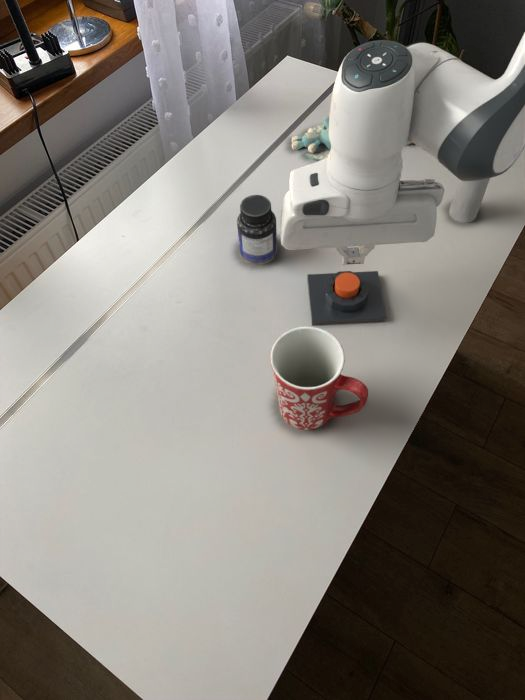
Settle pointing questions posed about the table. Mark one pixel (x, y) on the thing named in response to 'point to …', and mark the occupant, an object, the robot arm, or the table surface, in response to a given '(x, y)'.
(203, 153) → the table surface
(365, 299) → the button box
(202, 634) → the table surface
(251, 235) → the pill bottle
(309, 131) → the stuffed animal
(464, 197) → the white cylindrical tube
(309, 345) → the mug
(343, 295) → the button
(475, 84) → the robot arm
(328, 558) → the table surface
